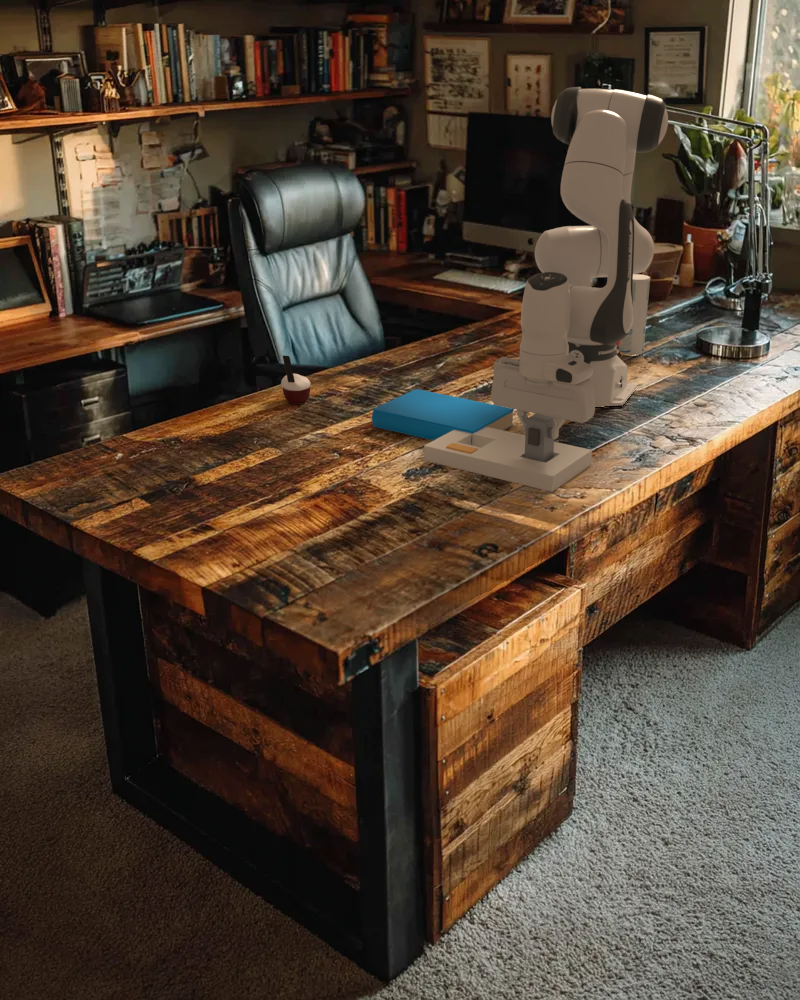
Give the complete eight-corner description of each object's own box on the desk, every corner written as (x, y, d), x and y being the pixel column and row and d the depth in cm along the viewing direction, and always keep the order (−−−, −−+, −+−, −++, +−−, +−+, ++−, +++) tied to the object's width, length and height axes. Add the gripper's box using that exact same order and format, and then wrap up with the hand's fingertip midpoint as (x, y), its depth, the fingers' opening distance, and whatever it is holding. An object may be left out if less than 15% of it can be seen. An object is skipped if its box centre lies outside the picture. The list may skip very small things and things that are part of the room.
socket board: (467, 441, 224) (467, 421, 223) (590, 469, 210) (592, 448, 208) (424, 464, 212) (423, 444, 211) (551, 496, 198) (552, 474, 196)
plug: (534, 457, 209) (536, 413, 205) (553, 461, 207) (555, 417, 203) (522, 465, 206) (524, 420, 202) (540, 469, 203) (543, 424, 200)
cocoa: (300, 396, 254) (298, 345, 250) (320, 400, 250) (318, 349, 246) (270, 404, 247) (268, 352, 243) (290, 409, 243) (288, 356, 239)
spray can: (648, 355, 281) (654, 278, 273) (625, 357, 279) (631, 280, 271) (636, 349, 287) (642, 273, 279) (614, 351, 285) (619, 275, 277)
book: (415, 388, 242) (514, 406, 229) (416, 407, 244) (514, 426, 231) (370, 409, 229) (472, 430, 216) (371, 429, 231) (472, 450, 218)
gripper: (485, 359, 202) (483, 429, 207) (585, 377, 191) (580, 451, 197) (502, 351, 207) (500, 419, 212) (601, 368, 196) (596, 440, 201)
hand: (540, 435), depth 204 cm, fingers closed on plug, 4 cm apart
